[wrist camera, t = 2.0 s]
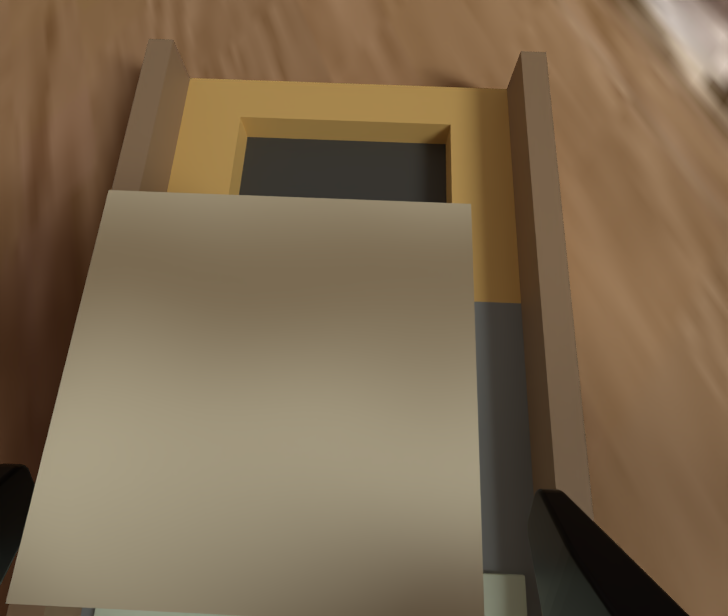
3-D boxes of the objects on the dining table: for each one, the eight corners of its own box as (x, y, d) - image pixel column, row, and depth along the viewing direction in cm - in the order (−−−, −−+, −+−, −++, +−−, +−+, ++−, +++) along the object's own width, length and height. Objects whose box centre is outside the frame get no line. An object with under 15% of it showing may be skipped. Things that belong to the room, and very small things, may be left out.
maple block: (410, 534, 15) (484, 628, 6) (223, 525, 16) (5, 603, 6) (412, 351, 17) (471, 203, 8) (246, 344, 17) (108, 190, 8)
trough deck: (577, 881, 14) (643, 1008, 11) (24, 849, 14) (-81, 964, 11) (519, 114, 23) (546, 52, 19) (179, 102, 23) (148, 39, 20)
